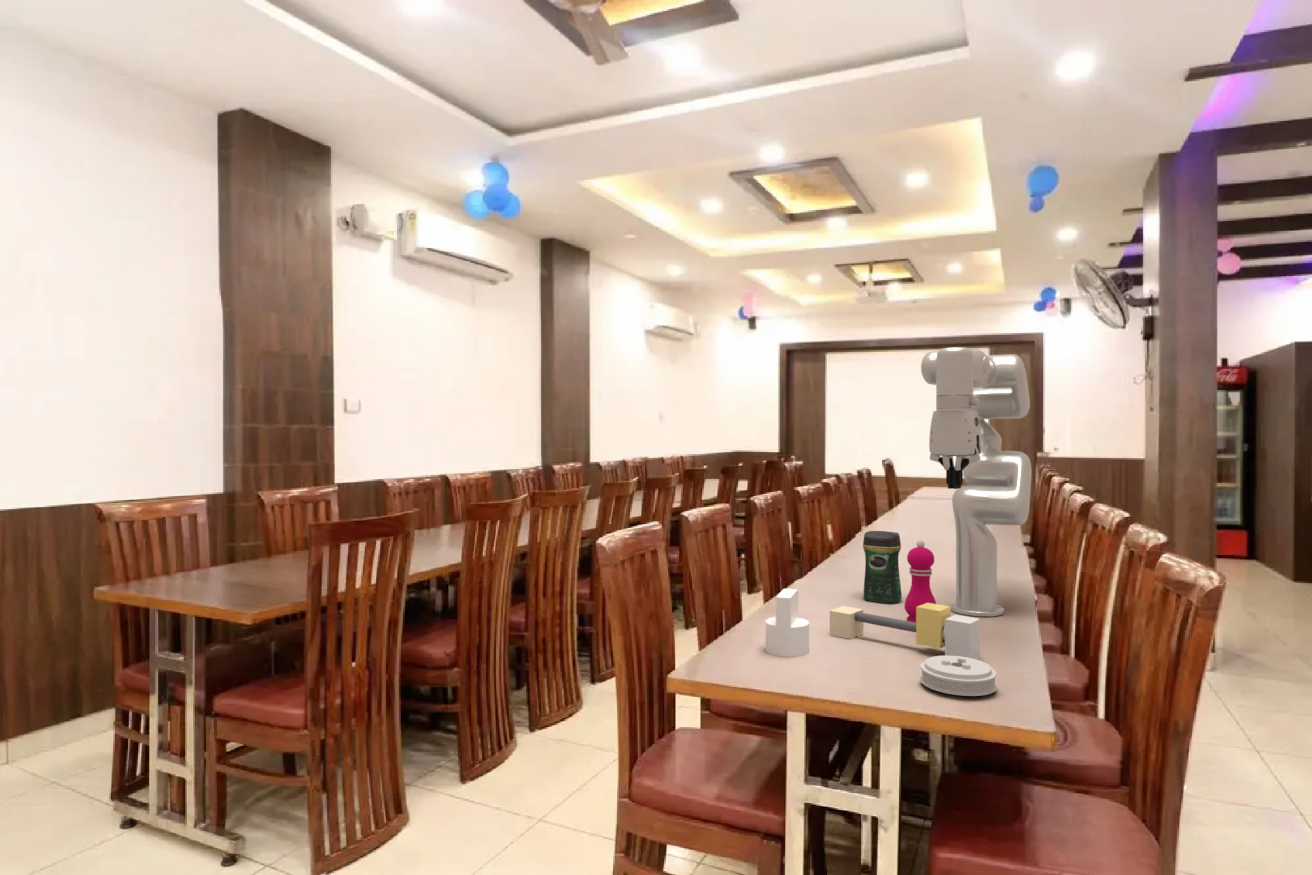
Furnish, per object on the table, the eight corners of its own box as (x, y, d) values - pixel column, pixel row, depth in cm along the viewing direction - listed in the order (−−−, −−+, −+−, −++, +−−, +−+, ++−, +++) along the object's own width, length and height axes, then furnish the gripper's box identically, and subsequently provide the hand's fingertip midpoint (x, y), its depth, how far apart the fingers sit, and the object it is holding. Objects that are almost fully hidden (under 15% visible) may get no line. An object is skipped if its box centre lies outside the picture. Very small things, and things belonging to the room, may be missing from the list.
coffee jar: (904, 599, 203) (904, 530, 203) (896, 605, 196) (896, 534, 196) (868, 595, 208) (868, 528, 208) (859, 601, 202) (859, 531, 201)
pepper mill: (939, 630, 172) (939, 543, 172) (906, 629, 173) (906, 542, 173) (934, 622, 179) (934, 538, 179) (902, 621, 181) (902, 537, 180)
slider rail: (843, 629, 173) (843, 594, 173) (980, 657, 152) (980, 618, 152) (829, 634, 169) (829, 599, 169) (969, 664, 148) (969, 624, 148)
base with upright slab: (805, 658, 152) (805, 599, 152) (761, 654, 155) (761, 596, 155) (812, 646, 161) (812, 590, 160) (770, 642, 164) (770, 587, 164)
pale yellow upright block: (927, 638, 159) (927, 602, 159) (950, 643, 156) (950, 606, 156) (916, 643, 156) (916, 606, 155) (940, 648, 152) (940, 611, 152)
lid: (985, 678, 140) (985, 651, 140) (1005, 703, 128) (1005, 674, 128) (914, 675, 142) (914, 649, 142) (927, 699, 130) (927, 670, 130)
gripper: (996, 403, 162) (996, 489, 163) (928, 405, 173) (928, 485, 173) (982, 403, 157) (982, 491, 157) (914, 405, 167) (914, 487, 168)
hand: (954, 488), depth 165 cm, fingers closed
